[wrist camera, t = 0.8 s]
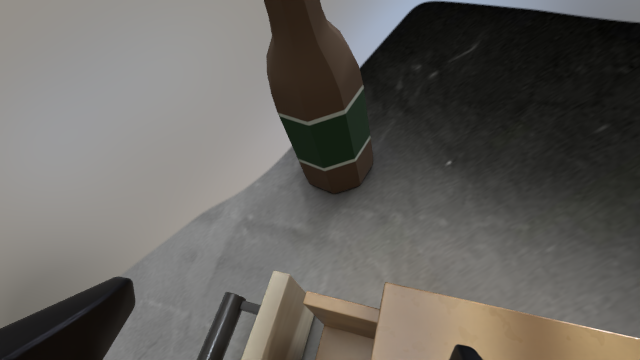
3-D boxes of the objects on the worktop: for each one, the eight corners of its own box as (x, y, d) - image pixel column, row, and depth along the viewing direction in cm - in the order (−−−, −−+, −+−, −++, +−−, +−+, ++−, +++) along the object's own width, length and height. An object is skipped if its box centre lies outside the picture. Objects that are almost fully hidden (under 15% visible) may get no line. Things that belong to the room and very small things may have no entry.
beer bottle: (344, 128, 39) (282, -145, 20) (389, 165, 35) (367, -138, 15) (291, 165, 38) (168, -90, 18) (331, 209, 33) (225, -65, 14)
